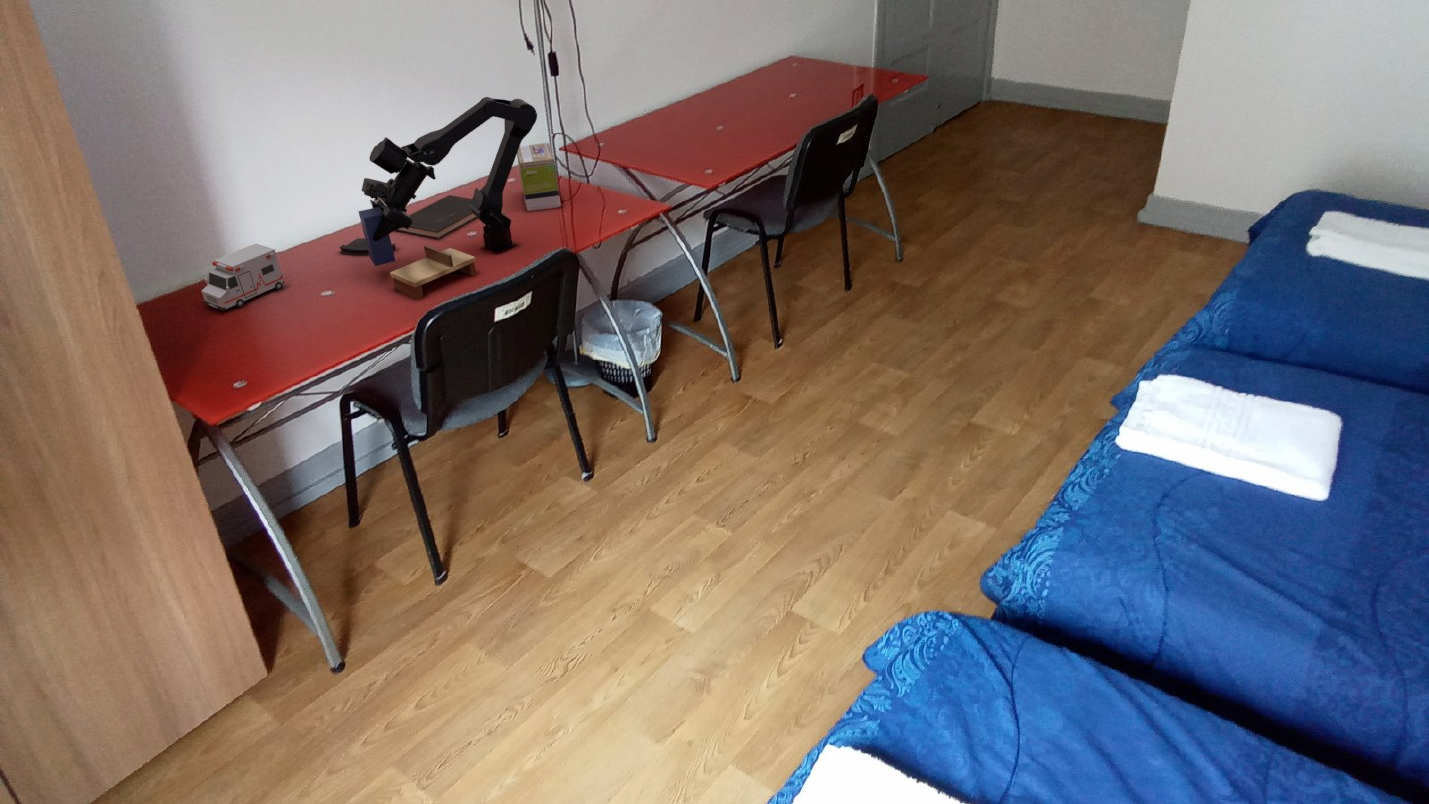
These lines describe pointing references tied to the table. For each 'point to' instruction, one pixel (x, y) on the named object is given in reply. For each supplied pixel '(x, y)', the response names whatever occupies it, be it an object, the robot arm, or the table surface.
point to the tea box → (538, 177)
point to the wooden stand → (431, 269)
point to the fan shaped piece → (357, 247)
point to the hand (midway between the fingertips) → (371, 236)
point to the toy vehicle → (242, 276)
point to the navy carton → (378, 249)
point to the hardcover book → (441, 217)
